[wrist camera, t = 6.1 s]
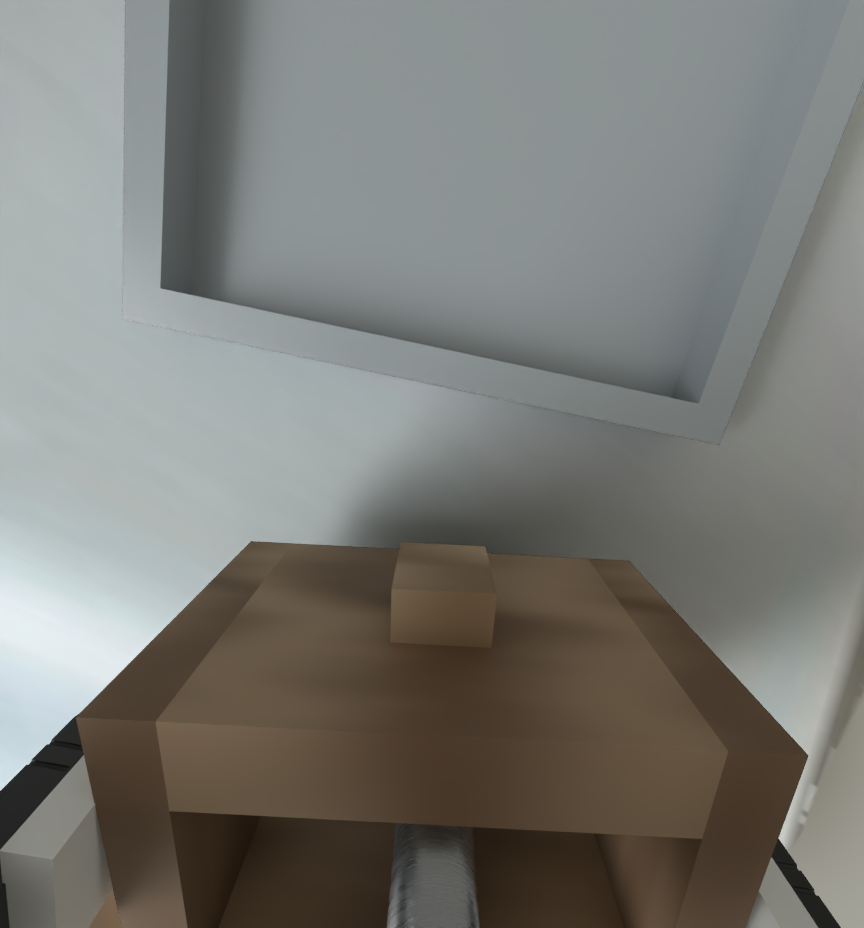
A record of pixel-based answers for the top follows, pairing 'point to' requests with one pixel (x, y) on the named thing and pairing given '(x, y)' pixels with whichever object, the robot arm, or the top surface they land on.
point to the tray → (486, 187)
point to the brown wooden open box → (433, 746)
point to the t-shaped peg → (433, 878)
